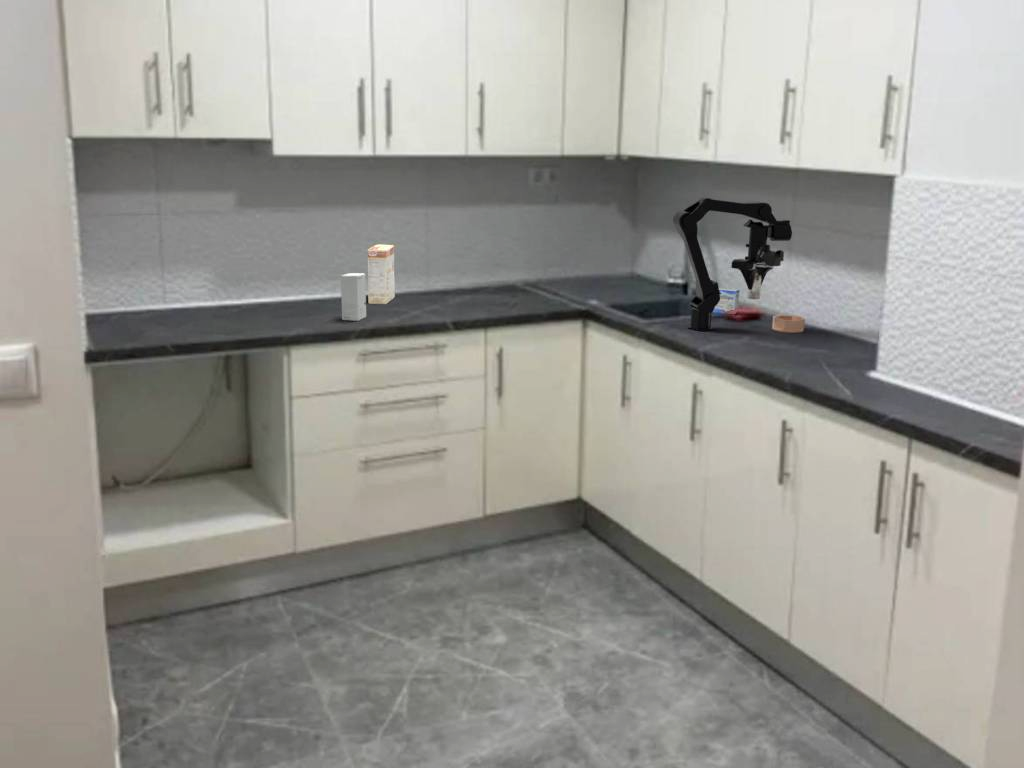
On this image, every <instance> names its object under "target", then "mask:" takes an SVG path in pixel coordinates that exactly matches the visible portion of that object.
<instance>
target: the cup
mask: <svg viewBox="0 0 1024 768" xmlns="http://www.w3.org/2000/svg"><path fill="white" fill-rule="evenodd" d="M805 322H806V319H805V317H803V316H797V315H791V314H790V315H788V314H778V315H777V314H776V315H773V316H772V328H771V329H772V330H774V331H776V332H780V333H787V334H788V333H789V334H791V333H792V334H794V333H795V334H798V333H799V334H800V333H803V332H804V329H805Z"/></svg>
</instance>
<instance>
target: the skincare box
mask: <svg viewBox="0 0 1024 768" xmlns="http://www.w3.org/2000/svg"><path fill="white" fill-rule="evenodd" d="M366 291H367V290H366V273H362V272H361V273H360V272H359V273H357V272H355V273H353V272H349V273H345V274H342V275H341V276H340V292H341V293H340V294H341V295H340V296H341V298H340V299H341V320H343V321H353V322H354V321H355V322H358V321H359V322H360V320H362V319H365V318H367V295H366V294H367V293H366Z"/></svg>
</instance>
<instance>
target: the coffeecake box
mask: <svg viewBox="0 0 1024 768" xmlns="http://www.w3.org/2000/svg"><path fill="white" fill-rule="evenodd" d="M395 280H396V279H395V244H381V243H380V244H379V243H378V244H375V245H373V246H372V247H369V248H368V249H367V283H368V284H367V289H368V290H367V294H368V295H367V296H368V297H367V298H368V301H367V302H368V304H371V305H372V304H373V305H374V304H375V305H387V304H388V303H390V301H392V300H393V299H394V298H395V297H396V296H395V292H396V291H395V282H396V281H395Z"/></svg>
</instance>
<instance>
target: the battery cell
mask: <svg viewBox="0 0 1024 768" xmlns="http://www.w3.org/2000/svg"><path fill="white" fill-rule="evenodd" d="M761 277H762V275H758V273H757V272H756V273H755V274H754V281H753V287H752V290H749V289H748V288H747V299H750V300H760V299H761V289H762V285H761Z"/></svg>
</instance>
